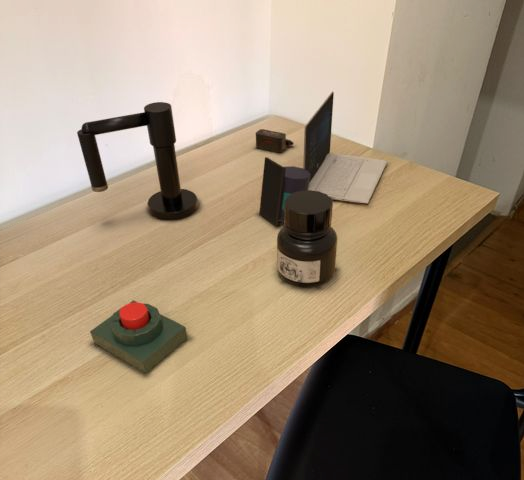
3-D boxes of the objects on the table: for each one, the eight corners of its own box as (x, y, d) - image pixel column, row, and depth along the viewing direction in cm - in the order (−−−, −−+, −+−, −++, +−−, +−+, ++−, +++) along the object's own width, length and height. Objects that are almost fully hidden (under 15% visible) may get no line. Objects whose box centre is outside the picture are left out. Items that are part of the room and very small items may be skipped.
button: (116, 323, 70) (113, 313, 68) (135, 308, 72) (133, 298, 70) (135, 333, 68) (132, 323, 67) (155, 318, 70) (152, 308, 69)
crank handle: (176, 166, 95) (167, 100, 87) (183, 176, 93) (174, 109, 84) (89, 184, 91) (71, 116, 83) (94, 195, 88) (75, 126, 80)
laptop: (367, 206, 96) (376, 135, 87) (301, 196, 100) (303, 126, 91) (387, 164, 108) (396, 97, 99) (327, 155, 112) (331, 90, 103)
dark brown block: (284, 154, 113) (284, 139, 110) (255, 148, 115) (254, 133, 113) (293, 146, 116) (294, 131, 113) (265, 140, 118) (264, 125, 116)
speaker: (267, 229, 91) (271, 170, 85) (259, 214, 95) (262, 157, 89) (309, 226, 93) (316, 168, 86) (298, 211, 97) (305, 155, 91)
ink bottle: (264, 270, 83) (261, 200, 75) (303, 247, 87) (305, 179, 79) (309, 298, 78) (312, 226, 70) (348, 272, 82) (355, 202, 74)
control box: (93, 343, 72) (86, 321, 70) (136, 311, 77) (130, 289, 74) (145, 373, 68) (140, 351, 65) (187, 338, 73) (183, 316, 70)
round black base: (138, 211, 97) (125, 147, 89) (172, 191, 102) (162, 128, 94) (174, 225, 93) (164, 160, 85) (207, 204, 99) (200, 140, 90)
